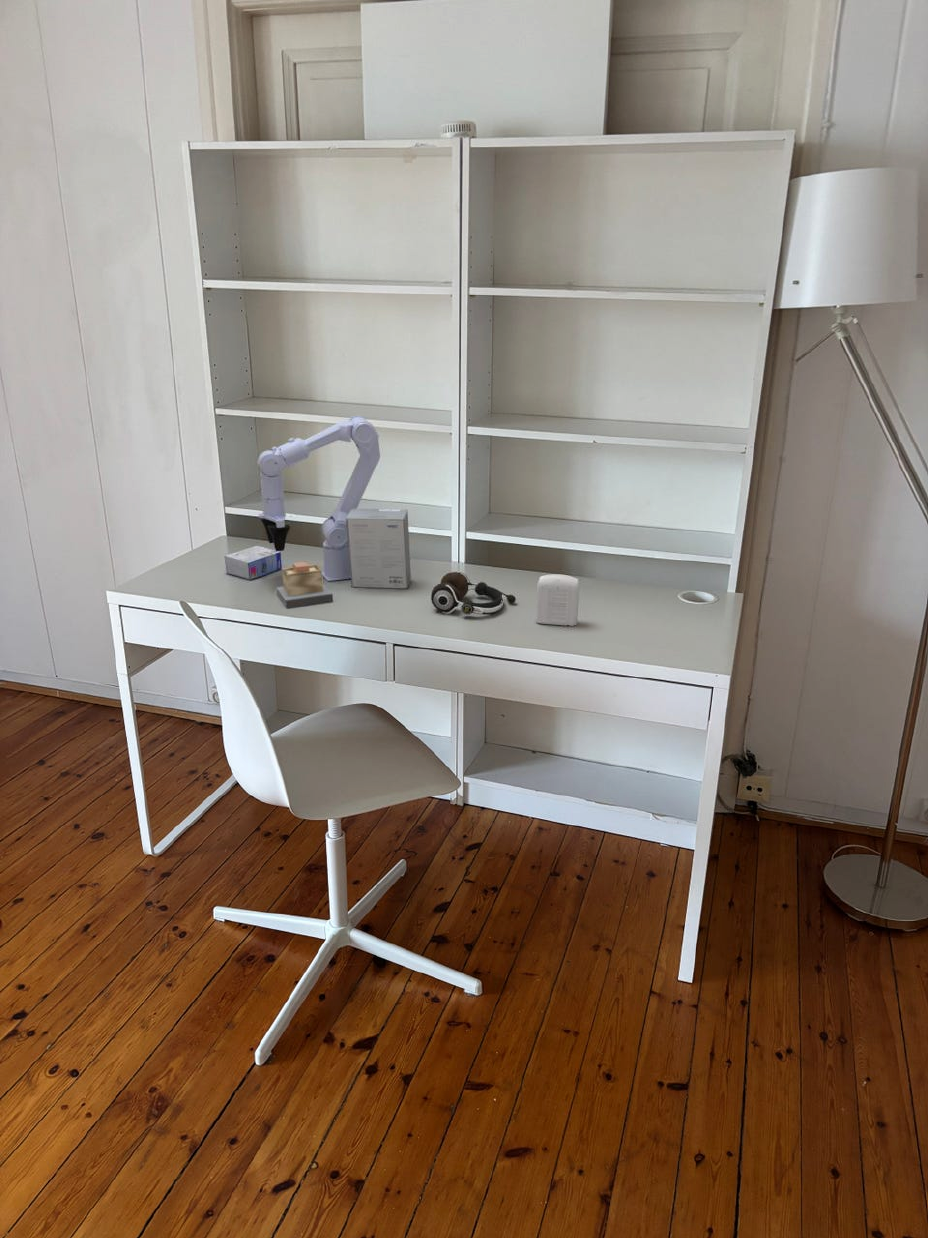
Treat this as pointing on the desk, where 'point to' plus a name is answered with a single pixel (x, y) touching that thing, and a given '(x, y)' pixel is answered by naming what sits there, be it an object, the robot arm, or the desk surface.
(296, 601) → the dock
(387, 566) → the hard drive box
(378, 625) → the desk surface
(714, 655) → the desk surface
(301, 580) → the tan mottled box
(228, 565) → the ink cartridge box
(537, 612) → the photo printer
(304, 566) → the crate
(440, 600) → the headset
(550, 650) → the desk surface
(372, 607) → the desk surface
